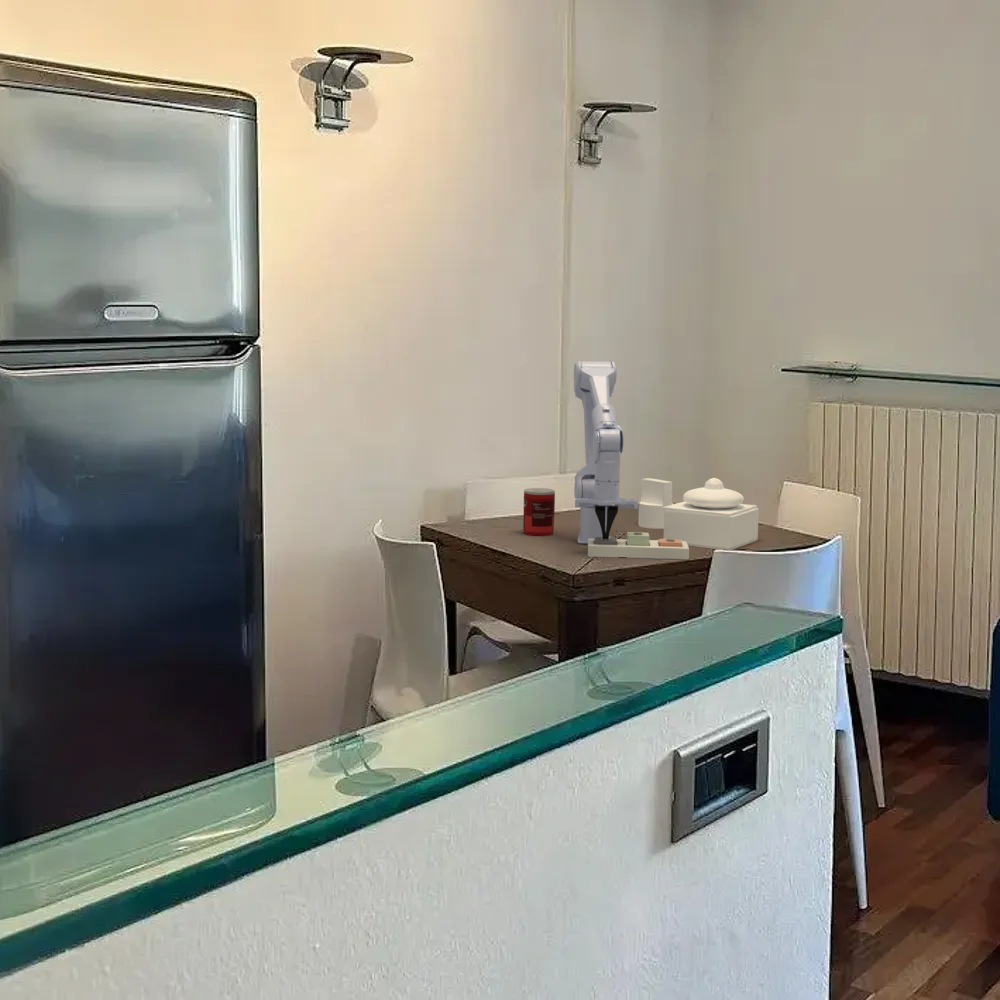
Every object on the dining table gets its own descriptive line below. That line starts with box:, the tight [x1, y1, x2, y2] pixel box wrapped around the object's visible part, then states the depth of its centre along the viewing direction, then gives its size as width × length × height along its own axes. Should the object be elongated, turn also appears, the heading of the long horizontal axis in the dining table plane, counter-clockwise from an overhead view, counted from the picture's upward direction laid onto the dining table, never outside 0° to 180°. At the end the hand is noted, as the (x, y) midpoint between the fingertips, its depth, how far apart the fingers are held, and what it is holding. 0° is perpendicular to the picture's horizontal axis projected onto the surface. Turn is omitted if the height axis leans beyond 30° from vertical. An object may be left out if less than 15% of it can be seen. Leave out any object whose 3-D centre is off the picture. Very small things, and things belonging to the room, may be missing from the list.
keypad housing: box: [587, 538, 690, 560], centre depth 317 cm, size 10×23×2 cm, turn 86°
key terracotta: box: [658, 538, 682, 547], centre depth 317 cm, size 5×5×3 cm
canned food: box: [522, 487, 556, 537], centre depth 343 cm, size 8×8×11 cm
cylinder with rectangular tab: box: [637, 477, 674, 530], centre depth 358 cm, size 9×9×12 cm
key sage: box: [626, 531, 650, 546], centre depth 317 cm, size 5×5×3 cm
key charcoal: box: [595, 536, 617, 545], centre depth 318 cm, size 5×5×3 cm
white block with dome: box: [662, 477, 760, 551], centre depth 335 cm, size 18×18×16 cm
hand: (605, 538), depth 318 cm, fingers closed, pressing on key charcoal
